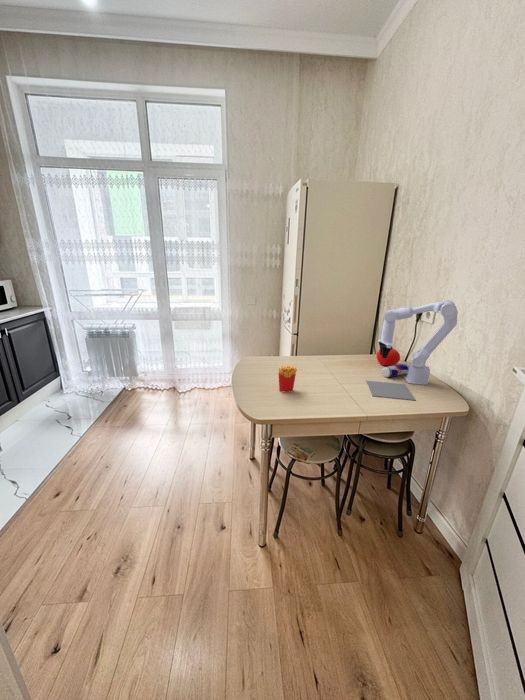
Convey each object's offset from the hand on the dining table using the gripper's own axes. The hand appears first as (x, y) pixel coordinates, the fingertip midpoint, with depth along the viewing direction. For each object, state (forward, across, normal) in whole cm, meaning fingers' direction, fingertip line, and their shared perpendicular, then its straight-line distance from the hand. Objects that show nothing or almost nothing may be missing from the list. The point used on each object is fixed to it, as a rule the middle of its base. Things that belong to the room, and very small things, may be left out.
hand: (383, 356), depth 155 cm
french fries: (+11, +32, -50) cm, 60 cm away
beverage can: (+8, +4, +1) cm, 9 cm away
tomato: (+11, -16, +7) cm, 20 cm away
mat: (+10, +20, 0) cm, 23 cm away
